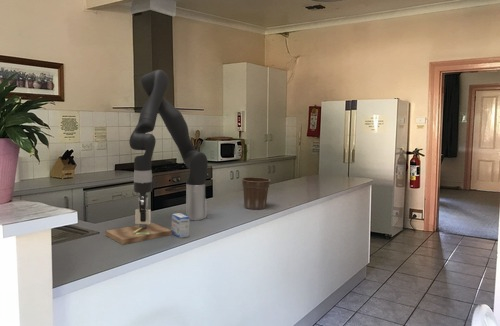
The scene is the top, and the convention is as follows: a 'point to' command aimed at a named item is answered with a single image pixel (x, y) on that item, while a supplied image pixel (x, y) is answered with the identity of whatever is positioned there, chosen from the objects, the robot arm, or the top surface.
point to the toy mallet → (137, 221)
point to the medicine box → (180, 225)
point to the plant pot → (255, 192)
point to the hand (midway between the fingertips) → (143, 220)
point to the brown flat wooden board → (138, 233)
